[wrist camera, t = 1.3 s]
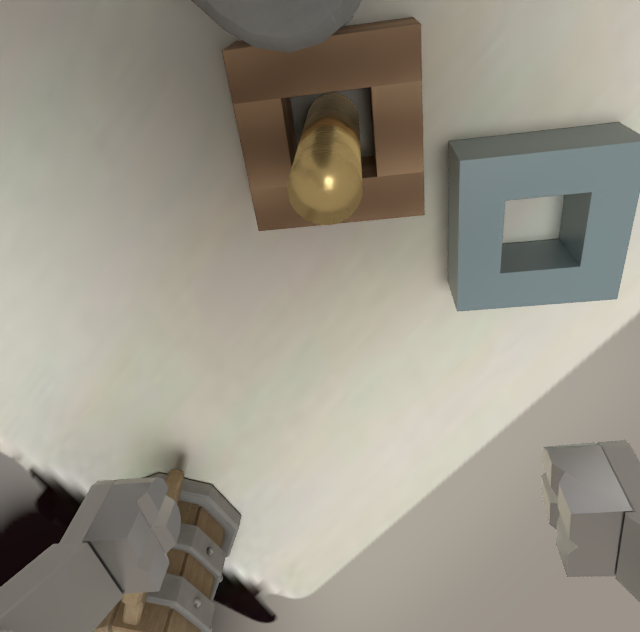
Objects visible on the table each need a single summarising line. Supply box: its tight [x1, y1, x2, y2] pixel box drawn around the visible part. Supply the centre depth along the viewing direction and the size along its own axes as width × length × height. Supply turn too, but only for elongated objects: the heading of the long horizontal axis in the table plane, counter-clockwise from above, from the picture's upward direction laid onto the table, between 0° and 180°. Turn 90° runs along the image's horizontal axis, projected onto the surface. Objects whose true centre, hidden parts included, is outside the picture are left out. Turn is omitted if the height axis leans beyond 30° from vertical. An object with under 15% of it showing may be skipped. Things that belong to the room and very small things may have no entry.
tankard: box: [93, 469, 241, 632], centre depth 47 cm, size 20×13×15 cm, turn 164°
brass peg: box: [287, 93, 363, 225], centre depth 27 cm, size 3×3×12 cm
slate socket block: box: [448, 122, 640, 311], centre depth 33 cm, size 10×10×4 cm
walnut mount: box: [222, 17, 424, 231], centre depth 31 cm, size 10×10×4 cm
